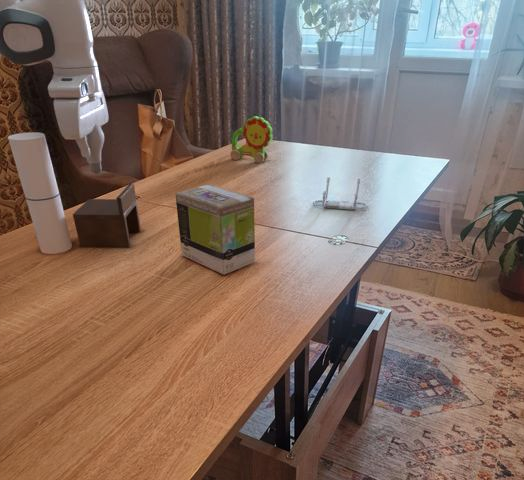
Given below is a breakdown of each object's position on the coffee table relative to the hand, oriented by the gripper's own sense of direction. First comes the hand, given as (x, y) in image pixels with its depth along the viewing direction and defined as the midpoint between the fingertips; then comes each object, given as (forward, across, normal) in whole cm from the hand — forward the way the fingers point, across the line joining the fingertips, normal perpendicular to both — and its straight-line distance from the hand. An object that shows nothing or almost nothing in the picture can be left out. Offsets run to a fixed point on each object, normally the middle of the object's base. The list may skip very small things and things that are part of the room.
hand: (92, 152), depth 108 cm
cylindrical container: (+20, +6, -11) cm, 24 cm away
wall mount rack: (+20, -28, +60) cm, 69 cm away
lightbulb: (+5, 0, 0) cm, 5 cm away
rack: (+20, 0, +1) cm, 20 cm away
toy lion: (+20, -76, +31) cm, 84 cm away
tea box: (+21, +11, +28) cm, 37 cm away
